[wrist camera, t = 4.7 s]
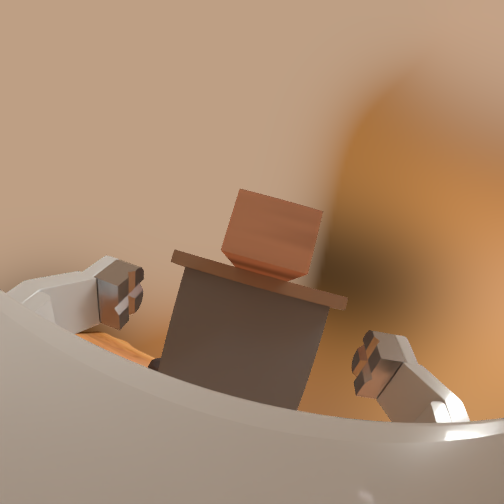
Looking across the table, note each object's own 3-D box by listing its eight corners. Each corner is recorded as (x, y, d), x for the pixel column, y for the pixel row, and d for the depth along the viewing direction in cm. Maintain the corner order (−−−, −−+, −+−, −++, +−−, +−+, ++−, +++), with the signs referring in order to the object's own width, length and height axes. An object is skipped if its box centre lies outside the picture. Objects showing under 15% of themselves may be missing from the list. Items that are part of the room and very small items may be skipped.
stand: (164, 434, 35) (208, 267, 38) (256, 460, 34) (310, 295, 37) (123, 493, 19) (174, 249, 22) (255, 531, 18) (348, 297, 21)
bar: (243, 275, 34) (250, 251, 34) (276, 285, 33) (283, 260, 34) (220, 250, 13) (239, 188, 13) (307, 274, 13) (322, 211, 13)
